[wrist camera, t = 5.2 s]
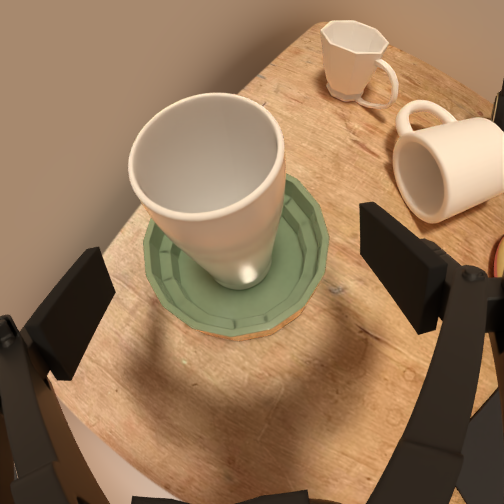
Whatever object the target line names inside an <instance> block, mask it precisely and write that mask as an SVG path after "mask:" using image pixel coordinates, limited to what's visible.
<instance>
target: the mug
mask: <svg viewBox="0 0 504 504" xmlns="http://www.w3.org/2000/svg"><path fill="white" fill-rule="evenodd" d="M420 111H425V112H429V113H431V114H433V115H435V116H436V117H437V118H438V119H439V120H440V121H441V122H442V123H443V124H442V125H438V126H433V127H429V128H425V129H421V130H416V131H413V130H412V128H411V125H410V123H409V115H410V114H412V113H415V112H420ZM395 124H396V129H397V132H398V135H399V137H400V138H399V139H398V140H397V142H396V144H395V147H394V151H393V170H394V175H395V179H396V183H397V186H398V189H399V191H400V193H401V195H402V197H403V199H404V201H405V203H406V204H407V206H408V207H409V209H410V210H411V211H412V212H413V213H414V214H415V215H416V216H417V217H418V218H419V219H421V220H423V221H425V222H427V223H438V222H441V221H443V220H445V219H447V218H450V217H452V216H454V215H456V214H459V213H461V212H463V211H465V210H467V209H470V208H472V207H474V206H476V205H478V204H481V203H483V202H485V201H487V200H489V199H491V198H493V197H496V196H498V195H500V194H502V193H504V132H503V131H502V130H501V129H500V128H499V127H498V126H497V125H496V124H495V123H493V122H492V121H490V120H488V119H486V118H481V117H475V118H470V119H466V120H461V121H457V120H456V119H455V118H454V117H453V116H452V115H451V114H450V113H449V112H448V111H447V110H445V109H444V108H442V107H441V106H439V105H437V104H435V103H433V102H430V101H426V100H415V101H412V102H410V103H408V104H406V105H405V106H404V107H402V108H401V110H400V111H399V112H398V114H397V116H396V121H395Z"/></svg>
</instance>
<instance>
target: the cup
mask: <svg viewBox="0 0 504 504" xmlns="http://www.w3.org/2000/svg"><path fill="white" fill-rule="evenodd" d="M320 32H321V42H322V51H323V65H324V69H325V74H326V79H327V81H328V83H327V85H326V87H327V89H328V91H329V92H330V94H331V96H333V97H335V98H337V99H340V100H342V101H344V102H348V101H356V102H357V103H358V104H360V105H362V106H365V107H368V108H374V109H385V108H388V107H390V106H392V105H393V104H394V103H395V102H396V99H397V95H398V84H399V83H398V80H397V77H396V73H395V72H394V70H393V69H392V67H391V66H390V65H388V64H387V63H386V62H385V61H383V60H382V59H381V58H382V56H383V54H384V52H385V50H386V48H387V46H388V44H389V43H388V41H387V40H386V39H385V38H384V37H383V35H382V34H381V33H380V32H379V31H378V30H377V29H375V28H372V27H370V26H367V25H365V24H362V23H359V22H357V21H353V20H351V21H350V20H347V21H344V20H343V21H330V22H329V23H328V24H327V25H325V26H324V27H323V28H322V29H321V30H320ZM377 67H379V68H381V69H383V70H385V71H386V73H387V74H388V76H389V79H390V82H391V85H392V89H391V98H390V102H389V103H388V104H377V103H371V102H368V101H365V100H363V99H362V98H361V96H362V94H363V92H364V88H365V87H366V85H367V84H368V82H369V81H370V79H371V78H372V76H373V75H374V73H375V71H376V69H377Z"/></svg>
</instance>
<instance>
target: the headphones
mask: <svg viewBox="0 0 504 504" xmlns="http://www.w3.org/2000/svg"><path fill="white" fill-rule="evenodd" d="M490 121H492V122H493V123H495V124H496V125H497V126H498V127H499V128H500V129H501V130H502V131H503V132H504V80H503V86H502V90H501V91H500V92H499V93H497V96H496V98H495V102H494V105H493V110H492V115H491V120H490Z"/></svg>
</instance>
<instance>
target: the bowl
mask: <svg viewBox="0 0 504 504" xmlns="http://www.w3.org/2000/svg"><path fill="white" fill-rule="evenodd" d="M328 246H329V234H328V231H327V228H326V224H325V221H324V218H323V215H322V211H321V208H320V205H319V204H318V202H317V201H316V200H315V199H314V198H313V197H312V195H311V194H310V193H309V192H308V191H307V190H306V188H305V187H304V186H303V185H302V184H301V183H300V181H299V180H297V179H296V178H294V177H292V176H291V175H289V174H287V173H286V185H285V197H284V204H283V210H282V215H281V219H280V223H279V227H278V231H277V236H276V240H275V244H274V248H273V253H272V264H271V267H270V270H269V272H268V274H267V275H266V277H265V278H264V279H263V280H262V281H261V282H260V283H258V284H257V285H255V286H253V287H251V288H248V289H243V290H233V289H229V288H226V287H223V286H222V285H220V284H219V283H217V282H216V281H215V280H214V279H213V278H212V277H211V275H210V274H209V273H208V272H207V271H205V270H204V269H203V268H202V267H201V266H200V265H198V264H197V263H196V262H195V261H194V260H192V259H191V258H190V257H189V256H187V255H186V254H185V253H184V252H183V251H182V250H180V249H179V248H178V247H177V246H176V245H175V244H174V243H173V242H172V241H171V240H170V239H169V238H168V237H167V236H166V235H165V234H164V233H163V232H162V231H161V229H160V228H159V227H158V226H157V225H156V223H155V222H154V221H153V219H152V218H151V219H150V222H149V225H148V228H147V231H146V234H145V237H144V240H143V247H144V260H145V272H146V277H147V279H148V281H149V282H150V284H151V286H152V288H153V290H154V292H155V294H156V295H157V297H158V299H159V301H160V303H161V304H162V306H163V307H164V308H165V309H167V310H168V311H169V312H171V313H172V314H173V315H175V316H176V317H177V318H179V319H180V320H181V321H183V322H184V323H185V324H187V325H188V326H190V327H191V328H193V329H195V330H197V331H200V332H202V333H204V334H207V335H211V336H215V337H220V338H224V339H229V340H234V341H244V340H249V339H254V338H259V337H264V336H269V335H271V334H274V333H275V332H277V331H278V330H280V329H281V328H283V327H284V326H286V325H287V324H288V323H290V322H291V321H293V320H294V319H296V318H297V317H298V316H299V315H300V314H301V313H302V311H303V309H304V308H305V306H306V305H307V303H308V301H309V300H310V298H311V297H312V295H313V293H314V292H315V290H316V289H317V287H318V285H319V283H320V281H321V280H322V278H323V276H324V273H325V268H326V261H327V253H328Z"/></svg>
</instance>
